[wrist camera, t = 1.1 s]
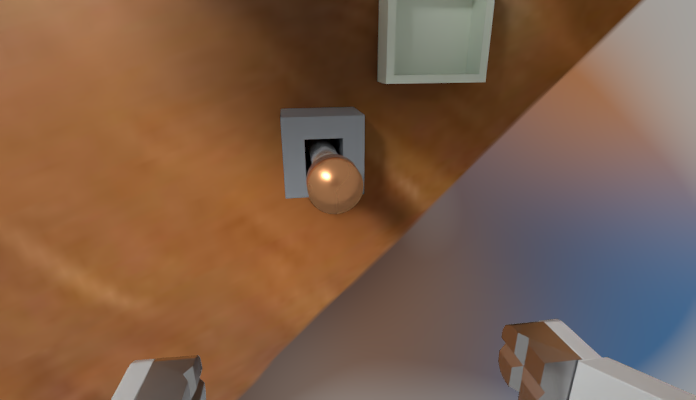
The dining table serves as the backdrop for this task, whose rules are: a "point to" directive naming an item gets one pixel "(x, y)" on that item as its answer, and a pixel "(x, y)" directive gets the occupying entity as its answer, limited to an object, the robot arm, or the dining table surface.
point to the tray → (433, 41)
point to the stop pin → (332, 178)
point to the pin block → (319, 125)
